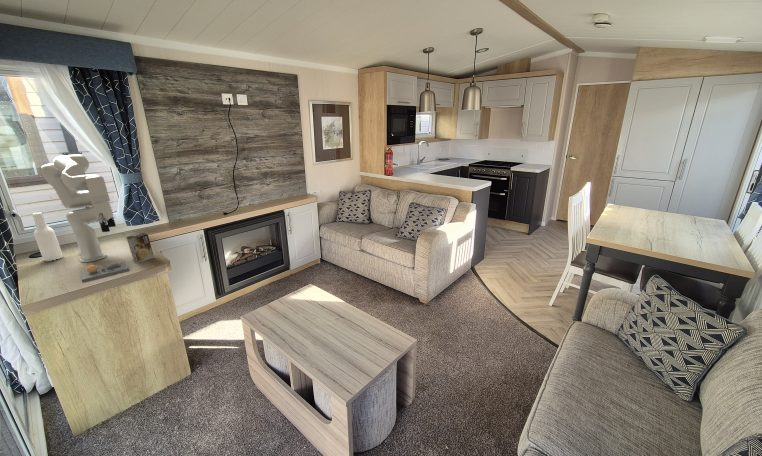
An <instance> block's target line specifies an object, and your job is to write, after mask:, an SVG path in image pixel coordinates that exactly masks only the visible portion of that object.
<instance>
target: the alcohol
mask: <svg viewBox="0 0 762 456" xmlns="http://www.w3.org/2000/svg"><path fill="white" fill-rule="evenodd" d="M32 217H33V219H34V224H35V230H34V231H33V236H34V239H35V242H36V244H37V247H38V249H39V251H40V254H41V257H42V260H43V261H44V262H53V261H52V260H54V261H57V260H56V259H58V260H61V259H62V258H63V256H64V254H63V252H62V249H61V246H60V243H59V240H58V237H57V235H56V232H55V230H54V229H53V228H52V227H50V226H48V224H47V222H46V220H45V218H44V217H43V212H41V211H40V212H38V211H37V212H33V213H32ZM60 258H61V259H60Z"/></svg>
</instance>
